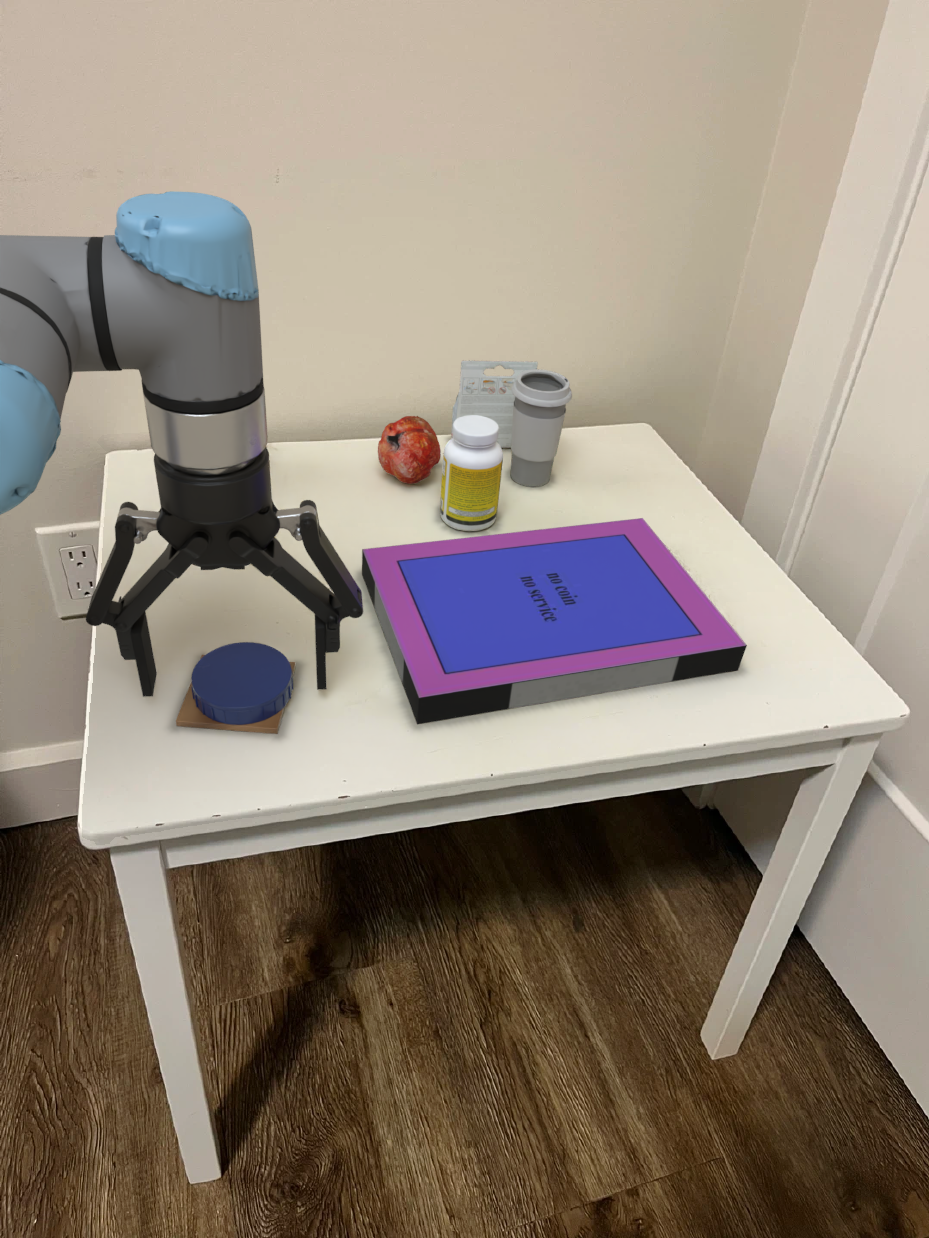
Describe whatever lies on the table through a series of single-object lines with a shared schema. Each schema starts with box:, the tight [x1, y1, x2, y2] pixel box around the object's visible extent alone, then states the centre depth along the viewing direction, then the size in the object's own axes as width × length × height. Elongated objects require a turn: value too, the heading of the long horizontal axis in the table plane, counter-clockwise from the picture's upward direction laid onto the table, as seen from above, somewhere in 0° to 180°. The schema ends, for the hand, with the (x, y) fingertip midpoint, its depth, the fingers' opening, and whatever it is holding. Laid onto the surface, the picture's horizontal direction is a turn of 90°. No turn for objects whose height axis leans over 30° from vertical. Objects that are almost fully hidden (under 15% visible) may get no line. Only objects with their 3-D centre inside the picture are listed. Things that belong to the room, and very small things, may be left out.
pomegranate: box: [377, 415, 442, 485], centre depth 103 cm, size 7×7×10 cm
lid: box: [190, 641, 294, 725], centre depth 74 cm, size 8×8×2 cm
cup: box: [509, 368, 573, 488], centre depth 103 cm, size 7×7×12 cm
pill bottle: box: [439, 415, 504, 532], centre depth 95 cm, size 6×6×11 cm
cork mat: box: [175, 654, 297, 735], centre depth 75 cm, size 8×8×1 cm
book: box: [361, 517, 748, 725], centre depth 85 cm, size 21×3×30 cm
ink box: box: [450, 359, 539, 449], centre depth 109 cm, size 3×9×12 cm, turn 98°
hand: (237, 682), depth 74 cm, fingers open, 13 cm apart
